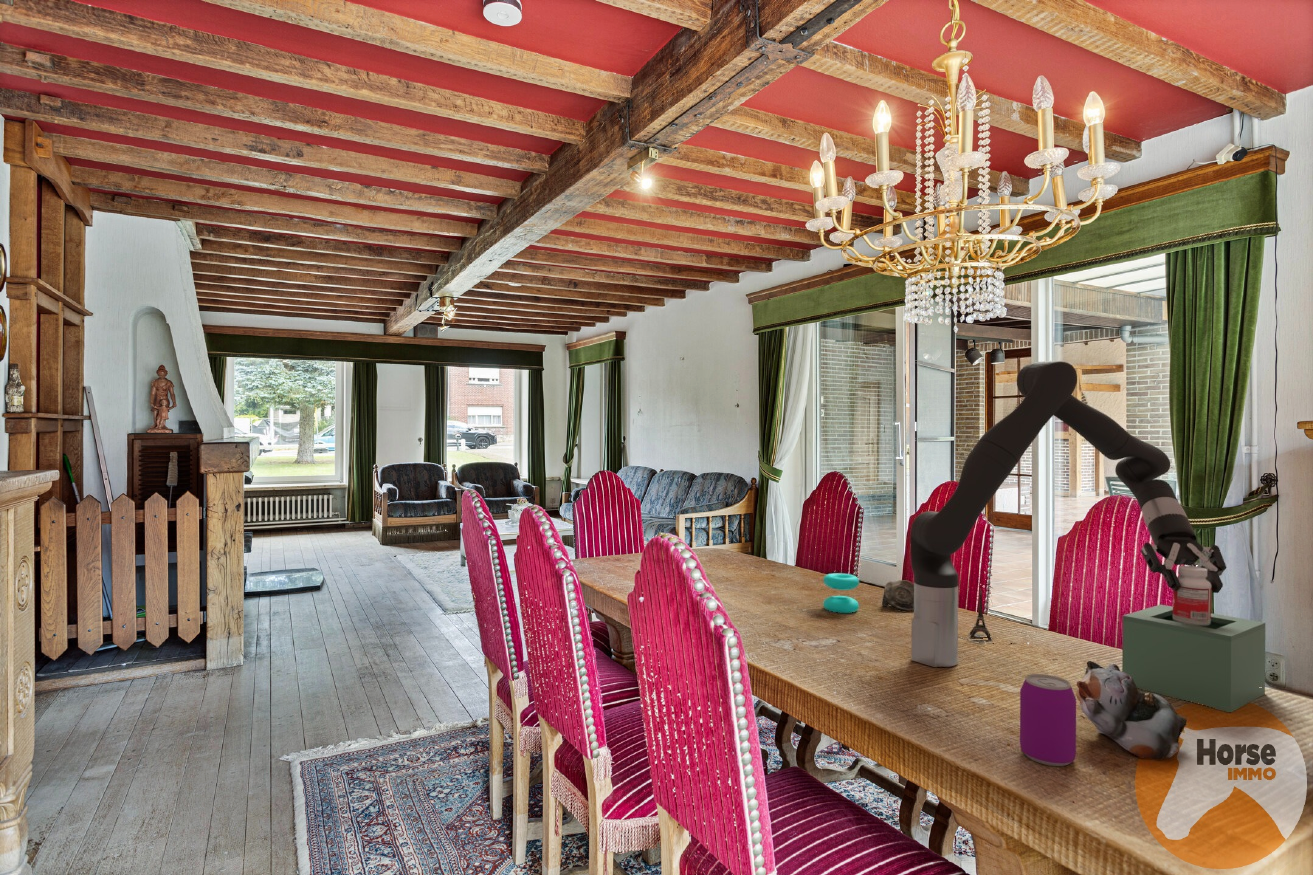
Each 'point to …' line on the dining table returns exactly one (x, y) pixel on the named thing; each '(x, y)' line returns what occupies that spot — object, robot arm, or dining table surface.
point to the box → (1195, 657)
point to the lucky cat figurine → (1129, 713)
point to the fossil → (899, 595)
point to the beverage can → (1048, 720)
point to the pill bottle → (1192, 597)
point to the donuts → (841, 602)
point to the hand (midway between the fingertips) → (1197, 589)
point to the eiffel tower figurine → (980, 627)
